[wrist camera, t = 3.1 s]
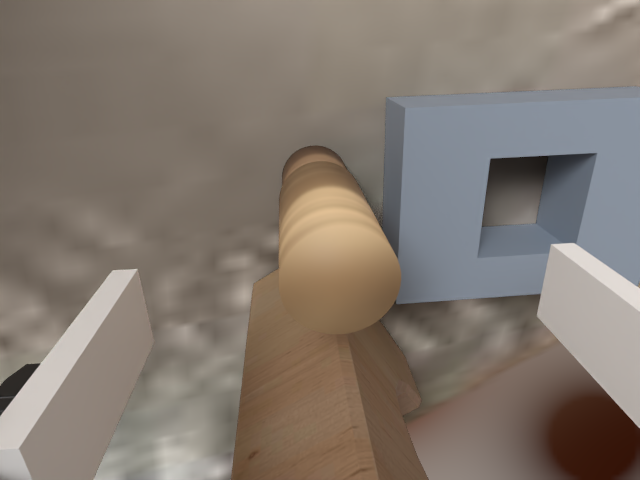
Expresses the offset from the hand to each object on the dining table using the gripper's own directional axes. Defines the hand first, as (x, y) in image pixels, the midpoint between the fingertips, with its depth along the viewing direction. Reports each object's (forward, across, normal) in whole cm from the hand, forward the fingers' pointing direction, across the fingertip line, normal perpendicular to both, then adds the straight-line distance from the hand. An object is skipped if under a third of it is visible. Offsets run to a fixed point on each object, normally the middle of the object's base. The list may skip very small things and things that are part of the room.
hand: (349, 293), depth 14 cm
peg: (+12, 0, 0) cm, 12 cm away
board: (+12, +11, -1) cm, 16 cm away
